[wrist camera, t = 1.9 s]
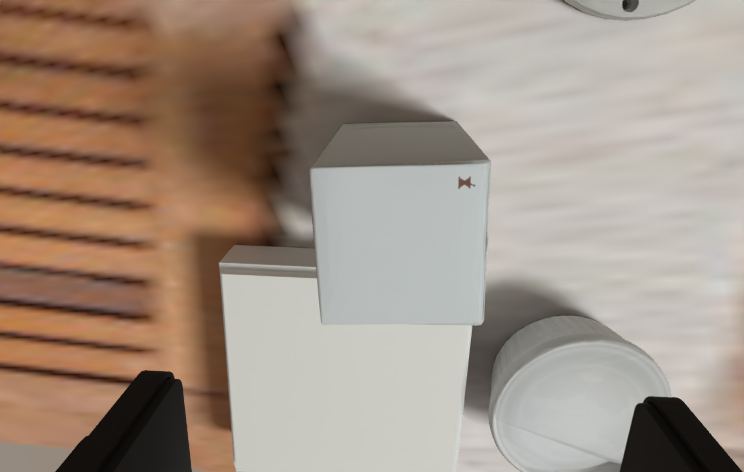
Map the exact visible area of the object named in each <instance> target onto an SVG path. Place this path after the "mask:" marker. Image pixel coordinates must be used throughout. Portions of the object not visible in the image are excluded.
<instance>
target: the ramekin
mask: <svg viewBox="0 0 744 472" xmlns="http://www.w3.org/2000/svg"><path fill="white" fill-rule="evenodd" d="M648 396H657V397H672V394H671V390H670V386H669V383H668V381H667V379H666V377H665V375H664V373H663V371H662V370H661V369H660V367H659V366H658V365H657V364H656V362H655V361H654V360H653V359H652V358H651V357H650V356H649V355H648V354H647V353H646V352H645V351H643V350H642V349H641V348H639V347H638V346H636V345H634V344H633V343H631V342H629V341H627V340H625V339H623V338H622V337H621V336H619V335H618V334H617V333H615V332H614V331H612V330H611V329H610V328H608V327H607V326H605V325H602V324H601V323H599V322H596V321H593V320H591V319H588V318H584V317H577V316H572V315H571V316H553V317H550V318H545V319H542V320H539V321H535V322H533V323H532V324H529V325H527V326H525V327H524V328H522V329H520V330H519V331H517V332H516V333H515V334H514V335H512V336H511V338H510V339H509V340H507V341H506V342H505V344H504V345H503V347H502V348H501V349H500V351H499V353H498V355H497V356H496V359H495V362H494V364H493V370H492V374H491V399H490V404H489V424H490V429H491V432H492V436H493V439H494V441H495V443H496V446H497V447H498V449H499V451H500V452H501V454H502V455H503V456H504V457H505V458H506V459H507V461H508V462H509V463H511V464H512V465H513V466H514V467H515V468H517V469H518V470H520V471H521V472H620V468H621V464H622V459H623V455H624V451H625V447H626V443H627V438H628V434H629V430H630V426H631V422H632V417H633V413H634V409H635V406H636V405H637V404H638V403H643V401H644V399H645V398H646V397H648Z"/></svg>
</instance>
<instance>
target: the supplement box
mask: <svg viewBox="0 0 744 472" xmlns="http://www.w3.org/2000/svg"><path fill="white" fill-rule="evenodd" d="M490 174H491V161H490V160H489V159H488V157H487V156H486V155H485V154H484V153H483V152H482V150H481V149H480V148H479V147H478V146H477V144H476V143H475V142H474V141H473V140H472V139H471V137H470V136H469V135H468V134H467V133H466V132H465V131H464V129H463V128H462V127H461V126H460V125H459V124H458V122H457V121H447V122H396V123H355V124H343V125H342V126H341V127H340V129H339V130H338V131H337V133H336V134H335V136H334V137H333V138H332V140H331V141H330V142H329V144H328V145H327V147H326V148H325V149H324V151H323V152H322V153H321V155H320V156H319V157H318V159H317V160H316V161H315V163H314V164H313V165H312V167H311V168H310V194H311V208H312V222H313V236H314V248H315V260H316V272H317V285H318V297H319V307H320V317H321V323H322V324H323V325H363V324H421V325H474V326H478V325H482V324H483V321H484V309H485V285H486V263H487V248H488V214H489V194H490Z"/></svg>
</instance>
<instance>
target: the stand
mask: <svg viewBox="0 0 744 472" xmlns="http://www.w3.org/2000/svg"><path fill="white" fill-rule="evenodd" d="M219 270H220V283H221V297H222V310H223V324H224V337H225V350H226V364H227V377H228V391H229V404H230V417H231V431H232V444H233V458H234V467H236V471H239V472H457V464H458V454H459V445H460V436H461V427H462V417H463V408H464V399H465V389H466V380H467V371H468V362H469V352H470V343H471V334H472V325H421V324H363V325H323V324H322V323H321V317H320V307H319V297H318V285H317V272H316V260H315V248H294V247H272V246H250V245H234V246H233V247H232V248H231V249H230V250H229V252H228V253H227V254H226V255H225V256H224V257H223V259H222V260H221V261H220V262H219Z"/></svg>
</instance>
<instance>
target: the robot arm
mask: <svg viewBox="0 0 744 472" xmlns="http://www.w3.org/2000/svg"><path fill="white" fill-rule="evenodd" d="M564 1H565V2H566V3H568V4H570V5H572V6H573V7H575V8H577V9H579V10H581V11H582V12H584V13H587V14H590V15H593V16H597V17H600V18H603V19H612V20H624V21H627V20H637V19H645V18H650V17H655V16H659V15H663V14H667V13H670V12H672V11H674V10H677V9H679V8H682V7H684V6H686V5H689V4H690V3H692V2H694V1H695V0H625V1H627V3H628V6H627V8H626V9H625V10H624V9H623V8H622V2H623V1H624V0H564ZM56 472H192V469H191V460H190V451H189V442H188V432H187V423H186V414H185V405H184V396H183V386H182V382H181V380H179V379H175V378H174V375H173V373H171V372H166V371H147V370H145V371H142V372H141V373H139V374H138V376H137V377H136V378H135V379H134V381H133V382H132V383H131V384H130V386H129V387H128V388H127V389H126V390H125V392H124V393H123V394H122V395H121V397H120V398H119V399H118V400H117V401H116V403H115V404H114V405H113V406H112V408H111V409H110V410H109V411H108V413H107V414H106V415H105V416H104V417H103V419H102V420H101V421H100V422H99V424H98V425H97V426H96V427H95V429H94V430H93V431H92V432H91V433H90V435H89V436H86V437H85V438H84V439H83V440H82V441H81V442H80V443H79V444H78V445H77V446H76V447H75V449H74V450H73V451H72V453H70V455H69V456H68V457H67V458H66V460H65V461H64V462H63V463H62V464H61V466H60V467H59V468H58V469H57V470H56ZM620 472H742V471H741V470H740V468H739V467H738V466H737V465H736V464H735V462H734V461H733V460H732V459H731V458H730V456H729V455H728V454H727V453H726V452H725V451H724V449H723V448H722V447H721V446H720V445H719V443H718V442H717V441H716V440H715V439H714V437H713V436H712V435H711V434H710V433H709V431H708V430H707V429H706V428H705V427H704V426H703V424H702V423H701V422H700V421H699V420H698V418H697V417H696V416H695V415H694V414H693V412H692V411H691V410H690V409H689V408H688V407H687V405H686V404H685V403H684V402H683V401H682V400H681V399H679V398H676V397H657V396H648V397H646V398H645V399H644V401H643V403H638V404H637V405H636V406H635V409H634V413H633V417H632V422H631V426H630V430H629V434H628V438H627V443H626V447H625V451H624V455H623V459H622V464H621V468H620Z"/></svg>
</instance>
